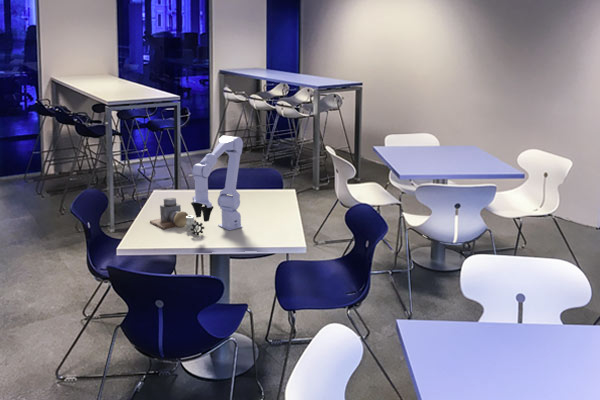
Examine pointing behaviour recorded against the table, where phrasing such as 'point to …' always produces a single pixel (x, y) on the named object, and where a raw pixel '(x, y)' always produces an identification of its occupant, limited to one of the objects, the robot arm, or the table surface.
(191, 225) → the valve
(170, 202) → the pipe stand
